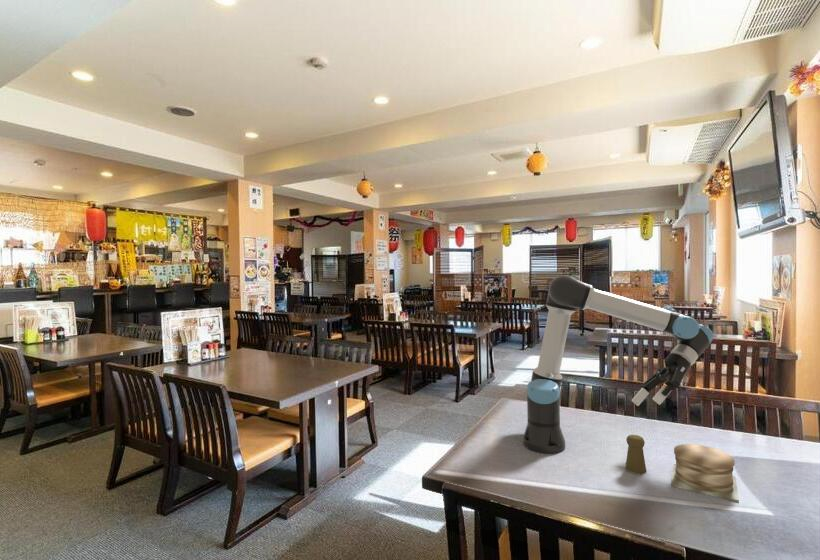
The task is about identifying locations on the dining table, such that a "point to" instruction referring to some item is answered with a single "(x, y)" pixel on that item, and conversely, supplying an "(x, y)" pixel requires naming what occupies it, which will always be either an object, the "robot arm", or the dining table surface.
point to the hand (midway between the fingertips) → (645, 402)
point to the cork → (635, 455)
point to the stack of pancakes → (704, 471)
